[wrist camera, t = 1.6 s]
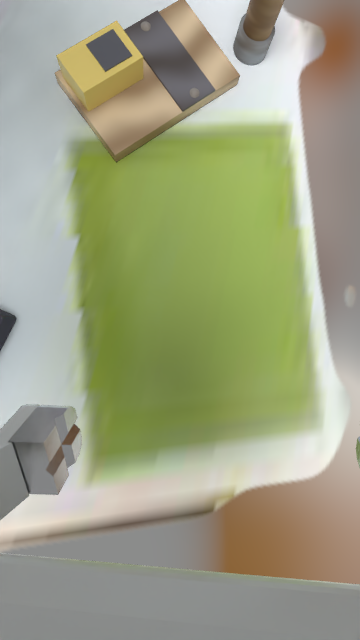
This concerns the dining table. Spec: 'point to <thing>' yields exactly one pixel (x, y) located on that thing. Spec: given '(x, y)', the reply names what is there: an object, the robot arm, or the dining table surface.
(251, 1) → the tall wooden cylinder
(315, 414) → the dining table surface
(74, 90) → the block
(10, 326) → the calculator
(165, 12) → the board
